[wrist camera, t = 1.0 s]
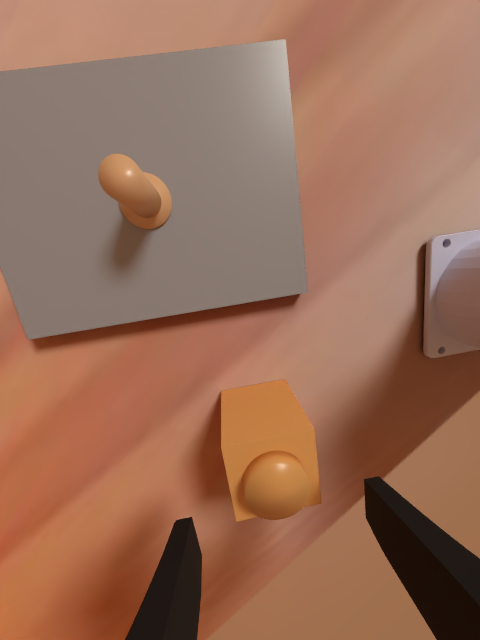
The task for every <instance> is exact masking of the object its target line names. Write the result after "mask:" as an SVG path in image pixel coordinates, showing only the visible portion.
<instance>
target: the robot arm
mask: <svg viewBox="0 0 480 640" xmlns="http://www.w3.org/2000/svg"><path fill="white" fill-rule="evenodd" d="M443 241H444V246H443ZM439 348H440V349H439ZM438 350H439V351H438ZM475 350H480V229H479V230H473V231H467V232H461V233H454V234H448V235H442V236H436V237H432V238H430V239H429V240H428V242H427V244H426V268H425V306H424V343H423V352H424V355H425V356H427V357H429V358H438V357H443V356H449V355H454V354H459V353H464V352H470V351H475ZM364 486H365V509H366V519H367V521H368V523H369V525H370V527H371V529H372V531H373V533H374V535H375V537H376V539H377V541H378V543H379V545H380V547H381V549H382V550H383V552H384V554H385V556H386V557H387V559H388V561H389V562H390V564H391V565H392V567H393V569H394V570H395V572H396V574H397V575H398V577H399V579H400V580H401V582H402V583H403V585H404V587H405V589H406V590H407V592H408V593H409V595H410V597H411V598H412V600H413V602H414V603H415V605H416V607H417V608H418V610H419V611H420V613H421V615H422V616H423V618H424V619H425V621H426V623H427V624H428V626H429V628H430V629H431V631H432V633H433V634H434V636H435V638H436V639H437V640H480V559H479V558H478V557H477V556H475V555H474V554H473V553H471V552H470V551H469V550H467V549H466V548H465V547H464V546H462V545H461V544H460V543H458V542H457V541H456V540H455V539H453V538H452V537H451V536H450V535H448V534H447V533H446V532H445V531H443V530H442V529H441V528H439V527H438V526H437V525H436V524H435V523H433V522H432V521H431V520H430V519H428V518H427V517H426V516H425V515H424V514H422V513H421V512H420V511H419V510H418V509H416V508H415V507H414V506H413V505H412V504H410V503H409V502H408V501H407V500H406V499H404V498H403V497H402V496H401V495H400V494H399V493H397V492H396V491H395V490H394V489H393V488H392V487H390V486H389V485H388V484H387V483H386V482H385V481H383V480H382V479H381V478H380V477H373V478H368V479H364ZM201 572H202V554H201V550H200V546H199V542H198V539H197V535H196V531H195V527H194V523H193V520H192V517H189V518H184V519H180V520H176V522H175V523H174V526H173V528H172V531H171V534H170V536H169V539H168V542H167V544H166V547H165V550H164V552H163V555H162V557H161V560H160V562H159V564H158V567H157V569H156V572H155V574H154V577H153V579H152V581H151V583H150V586H149V588H148V590H147V593H146V595H145V597H144V600H143V602H142V604H141V607H140V609H139V611H138V613H137V615H136V617H135V620H134V622H133V624H132V626H131V628H130V630H129V632H128V635H127V637H126V639H125V640H197V632H198V622H199V611H200V599H201Z"/></svg>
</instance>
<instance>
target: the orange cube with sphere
mask: <svg viewBox="0 0 480 640" xmlns="http://www.w3.org/2000/svg"><path fill="white" fill-rule="evenodd" d="M221 450H222V455H223V459H224V464H225V469H226V474H227V479H228V483H229V488H230V493H231V498H232V503H233V507H234V512H235V517H236V522H237V521H242V520H247V519H251V518H256V517H261V518H264V519H269V520H279V519H284V518H287V517H290V516H292V515H294V514H295V513H297V512H298V511H299V510H301V509H302V508H303V507H307V506H312V505H316V504H321V492H320V482H319V472H318V461H317V451H316V440H315V430H314V428H313V426H312V425H311V423H310V421H309V419H308V418H307V416H306V414H305V413H304V411H303V409H302V408H301V406H300V404H299V403H298V401H297V399H296V398H295V396H294V394H293V393H292V391H291V389H290V387H289V386H288V384H287V382H286V381H285V379H283V380H278V381H273V382H267V383H262V384H257V385H251V386H246V387H241V388H235V389H230V390H225V391H221Z"/></svg>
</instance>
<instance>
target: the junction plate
mask: <svg viewBox="0 0 480 640" xmlns="http://www.w3.org/2000/svg"><path fill="white" fill-rule="evenodd" d="M0 268H1V271H2V274H3V276H4V279H5V281H6V284H7V287H8V289H9V292H10V294H11V297H12V299H13V302H14V305H15V307H16V310H17V312H18V315H19V318H20V320H21V323H22V325H23V328H24V330H25V333H26V336H27V338H28V340H30V339H36V338H42V337H48V336H53V335H59V334H65V333H71V332H77V331H83V330H89V329H95V328H101V327H107V326H113V325H118V324H124V323H130V322H136V321H142V320H148V319H154V318H160V317H166V316H172V315H178V314H184V313H189V312H195V311H201V310H207V309H213V308H219V307H225V306H231V305H237V304H243V303H249V302H254V301H260V300H266V299H272V298H278V297H284V296H290V295H296V294H302V293H308V284H307V273H306V262H305V251H304V240H303V228H302V217H301V206H300V195H299V184H298V172H297V161H296V150H295V139H294V128H293V117H292V105H291V94H290V83H289V72H288V61H287V49H286V39H283V40H275V41H266V42H257V43H248V44H239V45H231V46H222V47H213V48H204V49H195V50H186V51H178V52H169V53H160V54H151V55H142V56H134V57H125V58H116V59H107V60H98V61H90V62H81V63H72V64H63V65H54V66H45V67H37V68H28V69H19V70H10V71H1V72H0Z"/></svg>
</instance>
